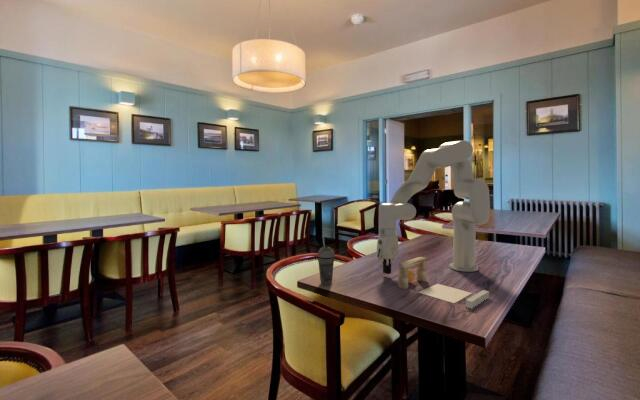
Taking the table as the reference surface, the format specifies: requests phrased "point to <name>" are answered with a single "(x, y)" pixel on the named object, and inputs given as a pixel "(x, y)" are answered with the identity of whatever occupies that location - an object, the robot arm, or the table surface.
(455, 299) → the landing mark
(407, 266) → the bridge
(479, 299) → the wall
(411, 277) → the ball
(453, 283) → the table surface
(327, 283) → the beverage cup
